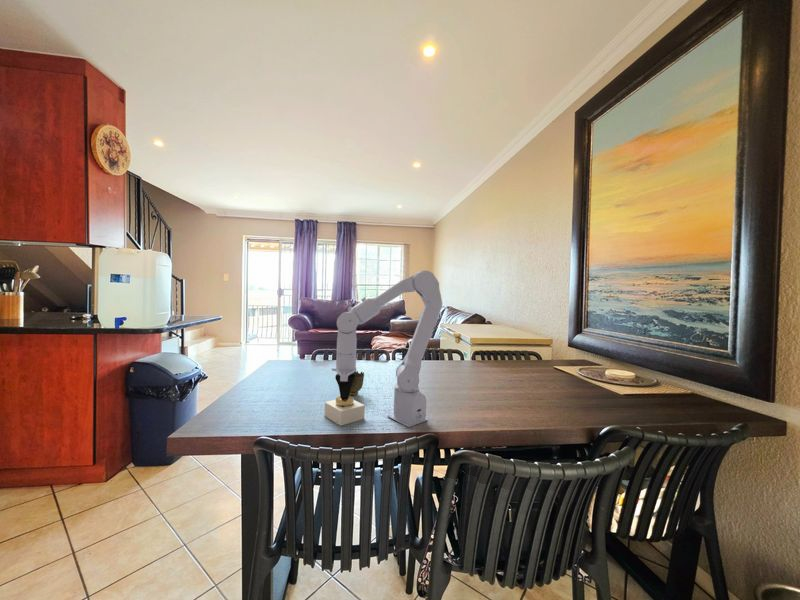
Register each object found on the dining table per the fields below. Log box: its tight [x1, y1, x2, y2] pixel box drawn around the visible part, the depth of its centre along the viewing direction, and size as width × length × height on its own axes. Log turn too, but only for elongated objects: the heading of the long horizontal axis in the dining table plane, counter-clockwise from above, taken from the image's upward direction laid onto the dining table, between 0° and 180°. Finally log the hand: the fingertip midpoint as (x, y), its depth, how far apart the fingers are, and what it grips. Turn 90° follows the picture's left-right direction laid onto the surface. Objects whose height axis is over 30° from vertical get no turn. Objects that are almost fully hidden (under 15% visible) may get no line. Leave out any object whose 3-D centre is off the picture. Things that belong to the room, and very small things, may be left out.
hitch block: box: [323, 399, 366, 427], centre depth 92 cm, size 9×8×4 cm
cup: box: [349, 370, 365, 397], centre depth 112 cm, size 8×7×8 cm
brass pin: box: [335, 396, 355, 407], centre depth 92 cm, size 5×5×5 cm
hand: (344, 398), depth 92 cm, fingers closed, pressing on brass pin
